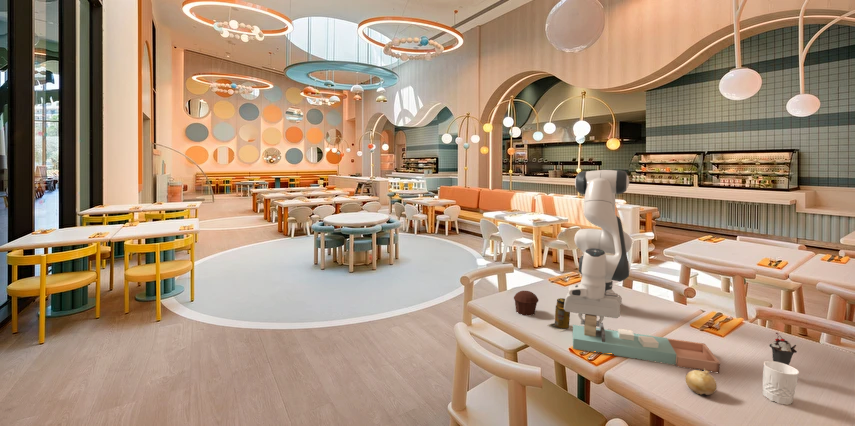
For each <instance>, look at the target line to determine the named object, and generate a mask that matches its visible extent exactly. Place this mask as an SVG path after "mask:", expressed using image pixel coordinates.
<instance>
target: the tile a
mask: <svg viewBox="0 0 855 426" xmlns="http://www.w3.org/2000/svg"><path fill="white" fill-rule="evenodd" d="M617 331H618V336H619V339H625V340H632V341H634V334H633V333H634V331H633V330H632V329H631V330H629V329H623V328H617Z"/></svg>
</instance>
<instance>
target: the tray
mask: <svg viewBox="0 0 855 426" xmlns="http://www.w3.org/2000/svg"><path fill="white" fill-rule="evenodd" d="M666 338H667V339H668V340H669V342H670V344H671V346H672V347H673V349H674V351H675V353H676V365H675V366H676V367H677V366H679V367H678V368H683V367H685V368H684V369H689V368H691V369H690V370H696V369H700V370H699V371H702V370H704V368H705V370H706V371H712V372H711V373H714V372H718V373H717V374H720V371H721V363H720V360H719V359H718V358H717V357H716V356H715V354H714V353H713V352H712V351H711V349H710V348H709V347H708V345H707V344H706V343H705V342H703V343H702V342H695V341H690V340H681V339H675V338H668V337H666Z"/></svg>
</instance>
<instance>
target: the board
mask: <svg viewBox="0 0 855 426" xmlns="http://www.w3.org/2000/svg"><path fill="white" fill-rule="evenodd" d="M572 327H573V328H572V349H573V350H580V351H584V352H585V351H586V352H591V353H592V352H593V353H597V352H602V353H601V354H604V353H612V354H614V355H613V356H616V357H624V358H630V359H635V358H637V359H636V360H641V359H642V360H643V361H647V360H649V361H648V362H654V361H656V362H655V363H660V362H662V363H661V364H666V363H668V364H667V365H672V364H674V365H675V366H677V365H676V353H675V351H674V349H673V347H672V346H671V344H670V342H669V340H668V339H667V338H668V337H662V336H655V335H649V334H641V333H634V332H633V334H634V341H632V340H625V339H619V336H618V330H613V329H606V328H604V330H605V342H602V339H601V337H600V336H596V337H594V336H588V335H584V325H578V324H572ZM596 330H600V327H596ZM639 336H647V337H654V338H655V340H656V341H657V342H658V343H659V344H658V348H651V347H643V346H642V345H641V343H640V342H639V341H638V340H639ZM594 351H596V352H594Z"/></svg>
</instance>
